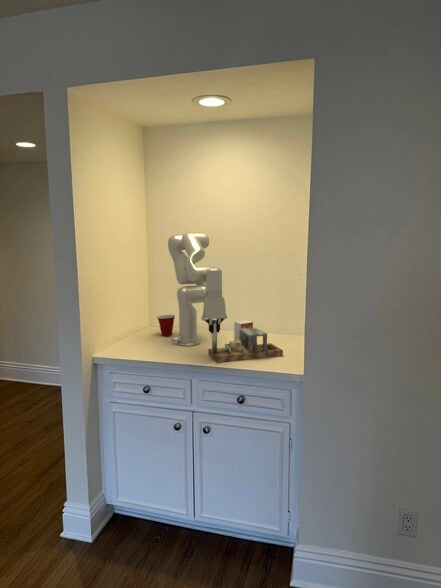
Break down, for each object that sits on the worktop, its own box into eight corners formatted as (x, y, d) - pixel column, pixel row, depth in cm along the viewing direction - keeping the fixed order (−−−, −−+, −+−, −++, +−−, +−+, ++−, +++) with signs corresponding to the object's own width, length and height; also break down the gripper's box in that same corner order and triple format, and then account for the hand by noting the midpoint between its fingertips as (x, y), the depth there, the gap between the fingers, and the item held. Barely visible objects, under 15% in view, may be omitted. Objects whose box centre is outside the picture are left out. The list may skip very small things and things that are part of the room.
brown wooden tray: (216, 363, 200) (216, 338, 198) (208, 354, 213) (207, 331, 211) (282, 356, 210) (283, 332, 208) (270, 348, 223) (271, 326, 221)
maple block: (232, 352, 207) (232, 343, 206) (229, 349, 211) (229, 340, 210) (241, 351, 208) (241, 342, 207) (238, 349, 212) (238, 340, 212)
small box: (240, 347, 225) (240, 323, 223) (234, 345, 231) (233, 321, 229) (253, 345, 230) (253, 321, 228) (246, 343, 235) (246, 319, 233)
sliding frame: (214, 354, 202) (214, 321, 200) (210, 350, 209) (209, 318, 207) (243, 351, 207) (243, 319, 205) (238, 347, 214) (238, 316, 211)
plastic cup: (164, 332, 261) (164, 313, 259) (179, 334, 255) (178, 314, 254) (153, 336, 252) (152, 316, 250) (168, 338, 246) (167, 318, 244)
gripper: (199, 296, 196) (200, 335, 199) (232, 294, 201) (233, 332, 204) (195, 294, 203) (196, 331, 206) (227, 292, 208) (227, 329, 211)
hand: (214, 331), depth 205 cm, fingers closed on sliding frame, 2 cm apart
